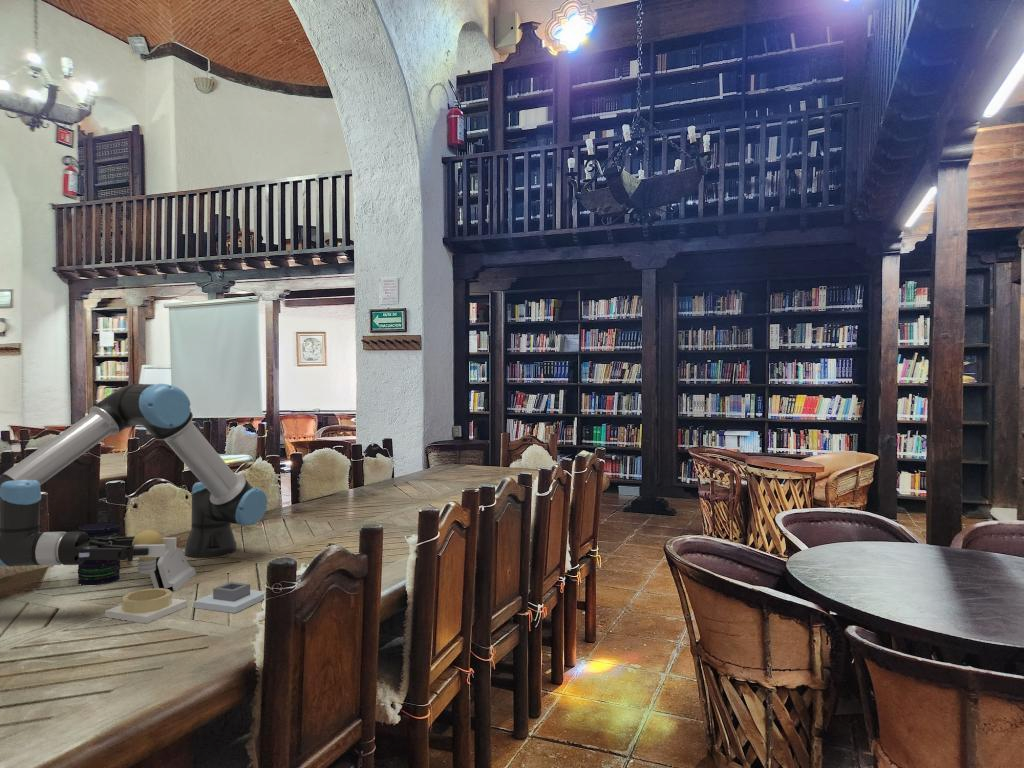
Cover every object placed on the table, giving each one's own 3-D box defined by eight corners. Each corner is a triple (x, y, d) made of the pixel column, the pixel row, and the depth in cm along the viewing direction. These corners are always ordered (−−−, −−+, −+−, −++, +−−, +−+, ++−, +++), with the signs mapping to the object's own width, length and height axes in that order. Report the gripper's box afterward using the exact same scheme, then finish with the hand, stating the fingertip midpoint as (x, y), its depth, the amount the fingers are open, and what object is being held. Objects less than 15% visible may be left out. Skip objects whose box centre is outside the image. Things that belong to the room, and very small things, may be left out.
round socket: (147, 601, 161) (148, 585, 161) (187, 606, 157) (187, 590, 157) (104, 617, 149) (105, 600, 149) (146, 623, 146) (146, 605, 146)
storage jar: (69, 582, 174) (70, 527, 174) (105, 573, 183) (106, 520, 183) (92, 588, 170) (93, 531, 170) (128, 578, 179) (129, 524, 179)
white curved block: (175, 591, 168) (162, 555, 168) (156, 598, 168) (143, 562, 167) (196, 573, 185) (184, 540, 185) (180, 579, 184) (168, 546, 184)
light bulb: (130, 577, 149) (131, 534, 149) (131, 570, 154) (133, 528, 154) (161, 574, 152) (163, 532, 152) (162, 567, 157) (163, 526, 157)
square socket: (228, 592, 168) (228, 577, 168) (267, 597, 165) (268, 582, 165) (193, 607, 157) (194, 591, 157) (235, 613, 153) (235, 596, 153)
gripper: (85, 554, 160) (184, 552, 163) (40, 576, 141) (153, 574, 144) (86, 523, 160) (185, 522, 163) (41, 541, 141) (154, 540, 144)
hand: (170, 547), depth 154 cm, fingers closed on light bulb, 6 cm apart
